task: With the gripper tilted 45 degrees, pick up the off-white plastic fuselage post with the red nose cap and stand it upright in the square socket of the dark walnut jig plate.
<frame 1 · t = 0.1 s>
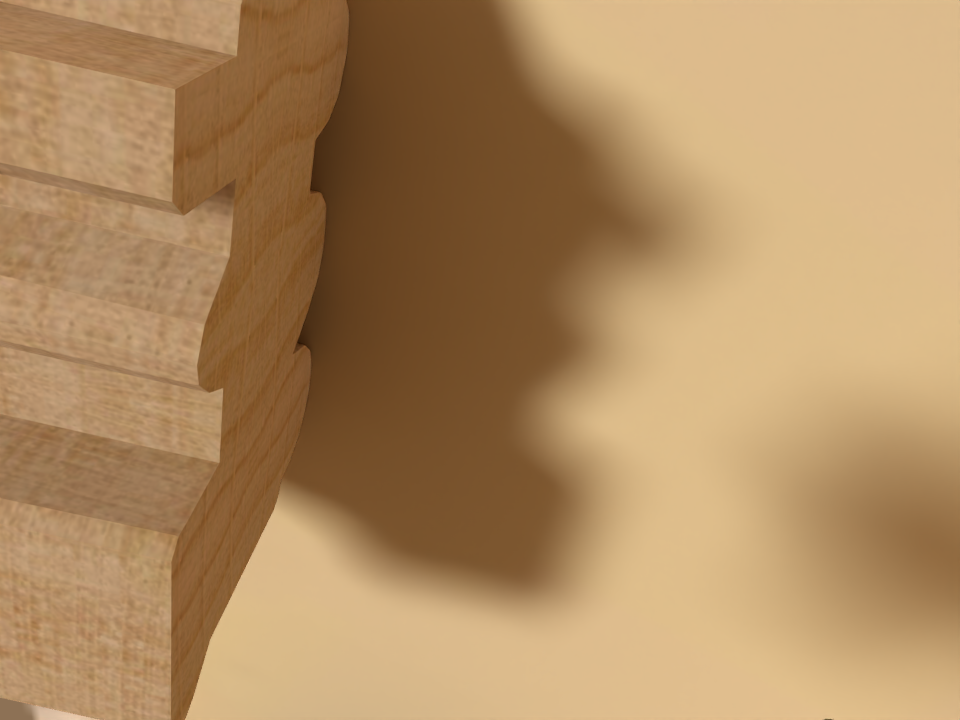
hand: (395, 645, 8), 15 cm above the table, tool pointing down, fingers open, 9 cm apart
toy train: (229, 212, 22), on the table
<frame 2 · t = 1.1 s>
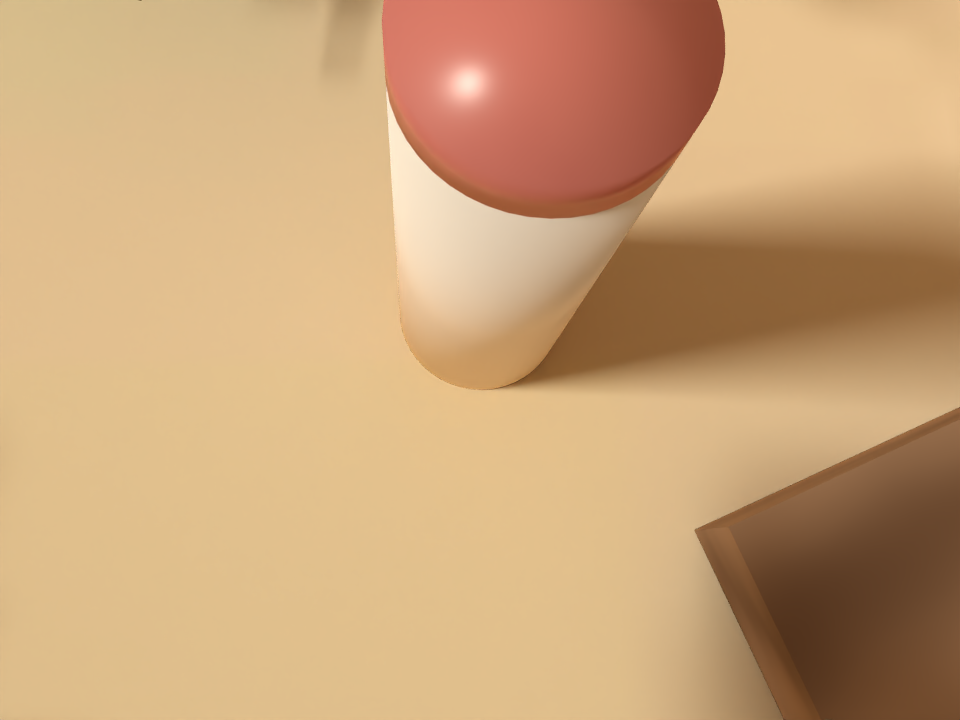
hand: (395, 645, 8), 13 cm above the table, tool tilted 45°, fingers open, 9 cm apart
fuselage post: (479, 311, 23), on the table
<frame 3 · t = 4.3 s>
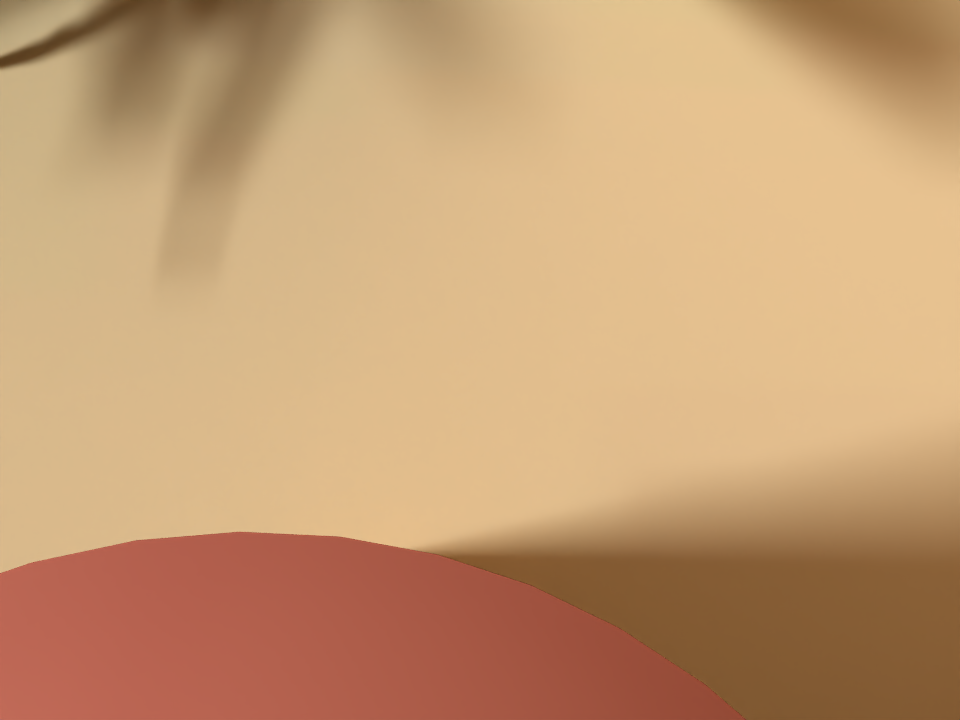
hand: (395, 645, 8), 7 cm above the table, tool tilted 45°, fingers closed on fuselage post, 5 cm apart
fuselage post: (383, 688, 14), on the table, touching gripper
when the fingers open (8 cm above the table, at t = 9.2 s): fuselage post drops 2 cm, on the table.
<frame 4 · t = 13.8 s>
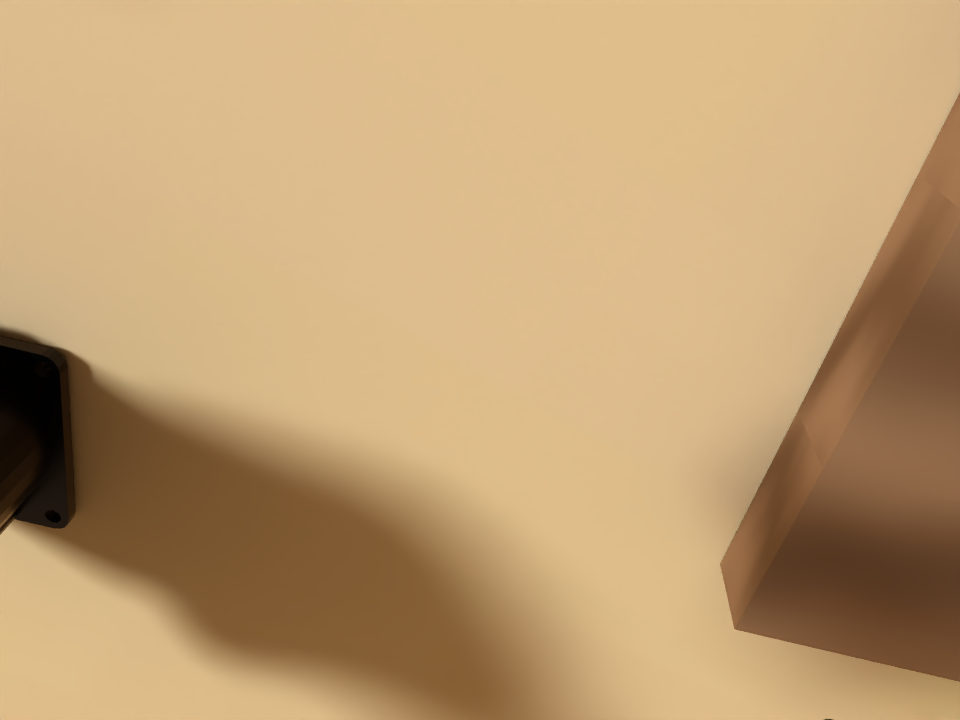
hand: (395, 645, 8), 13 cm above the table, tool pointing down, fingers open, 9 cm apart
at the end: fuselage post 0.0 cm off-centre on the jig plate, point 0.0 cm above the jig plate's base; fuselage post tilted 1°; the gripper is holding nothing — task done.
